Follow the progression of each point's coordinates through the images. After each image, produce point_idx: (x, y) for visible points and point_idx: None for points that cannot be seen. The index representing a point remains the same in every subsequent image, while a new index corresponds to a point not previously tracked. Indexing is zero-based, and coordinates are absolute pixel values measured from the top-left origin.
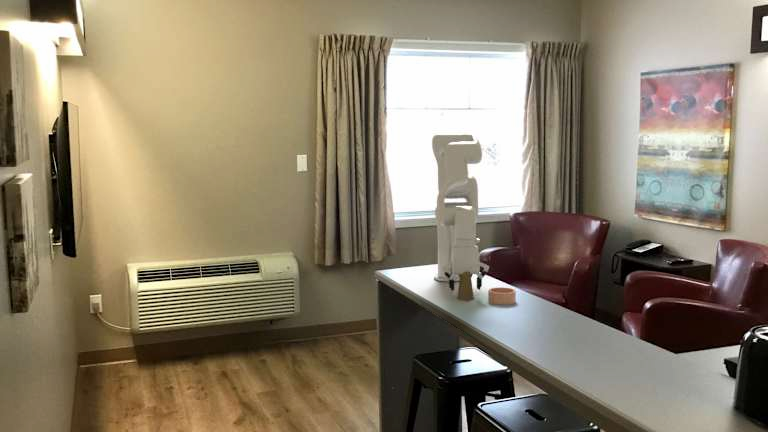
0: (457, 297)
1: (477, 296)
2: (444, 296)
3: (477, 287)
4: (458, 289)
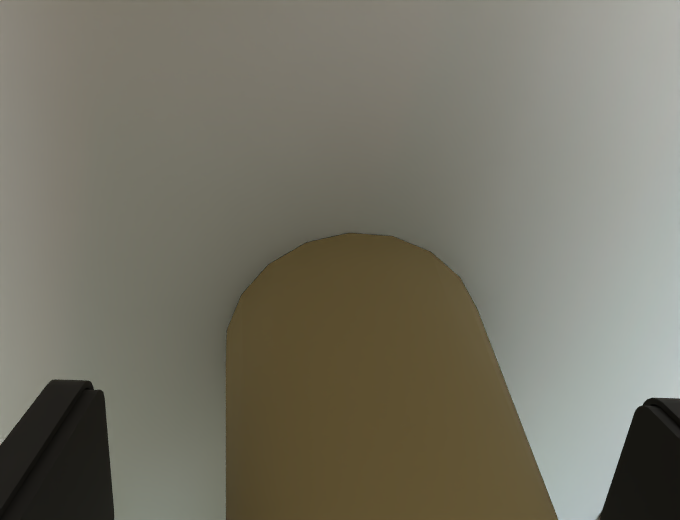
0: (226, 360)
1: (584, 261)
2: (19, 142)
3: (632, 482)
4: (226, 457)
